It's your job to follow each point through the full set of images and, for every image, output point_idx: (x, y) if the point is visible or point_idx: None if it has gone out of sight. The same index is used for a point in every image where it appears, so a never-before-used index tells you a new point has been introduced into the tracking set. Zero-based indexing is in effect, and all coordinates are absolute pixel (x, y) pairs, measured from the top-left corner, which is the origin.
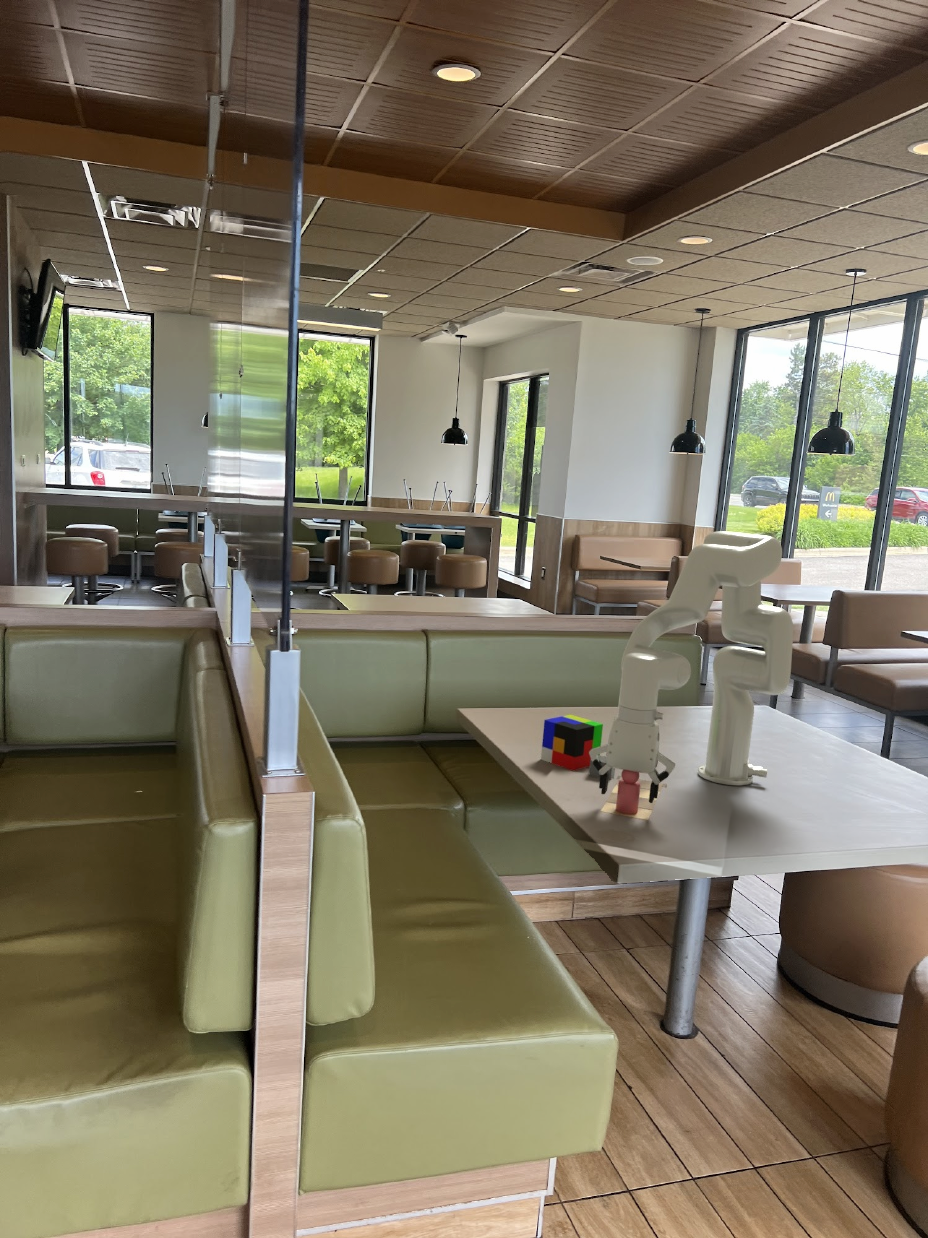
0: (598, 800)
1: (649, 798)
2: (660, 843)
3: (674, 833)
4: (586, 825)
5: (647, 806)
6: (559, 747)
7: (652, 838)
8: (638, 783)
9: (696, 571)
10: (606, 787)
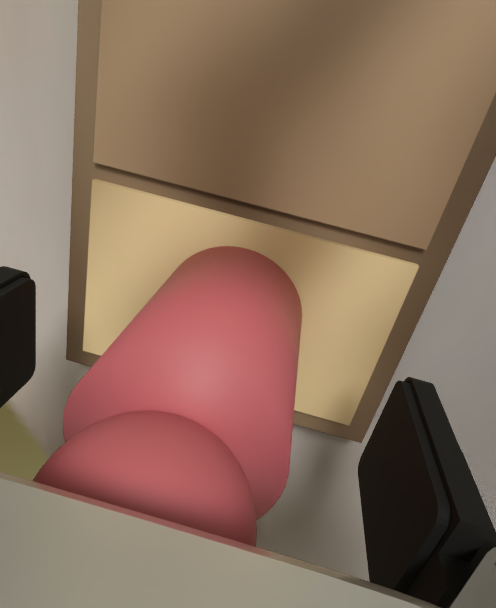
0: (46, 8)
1: (362, 493)
2: (364, 561)
3: (475, 469)
4: (56, 437)
5: (403, 186)
6: None
7: (339, 524)
8: (267, 461)
9: None
10: (8, 347)
